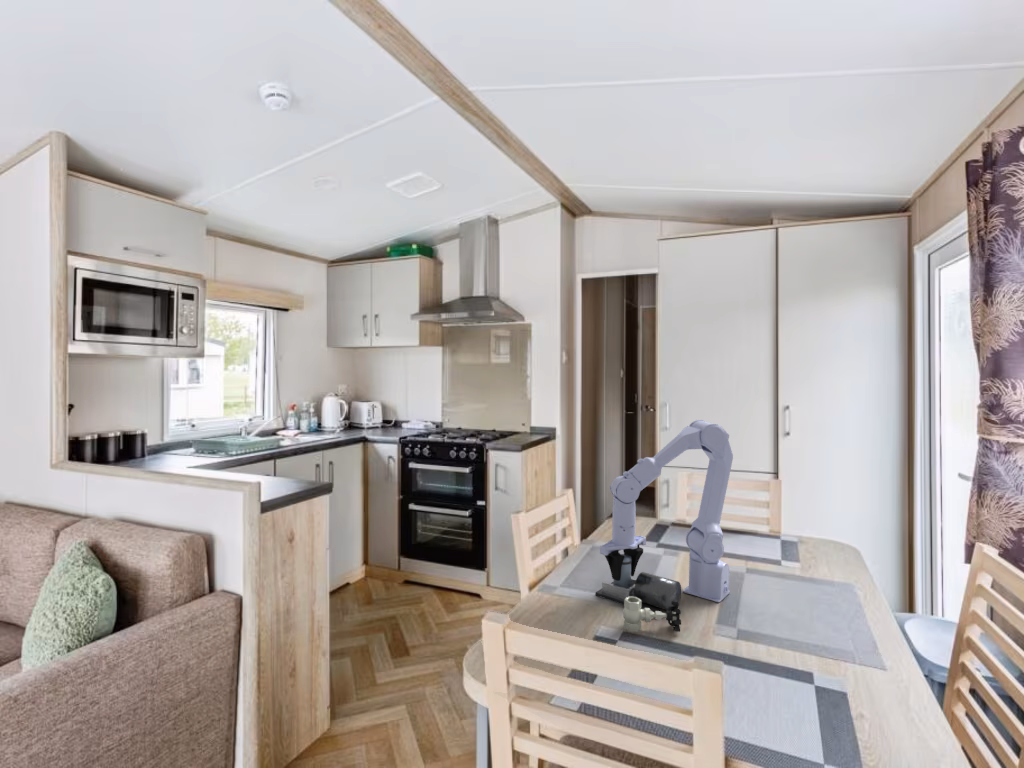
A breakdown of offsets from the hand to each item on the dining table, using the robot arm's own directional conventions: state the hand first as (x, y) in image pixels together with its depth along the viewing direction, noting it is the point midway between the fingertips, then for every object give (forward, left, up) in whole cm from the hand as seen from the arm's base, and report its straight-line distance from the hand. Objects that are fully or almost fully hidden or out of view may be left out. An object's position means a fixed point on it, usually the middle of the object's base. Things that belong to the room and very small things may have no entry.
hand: (623, 577), depth 140 cm
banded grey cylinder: (0, 0, -2) cm, 2 cm away
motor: (-4, 0, -4) cm, 6 cm away
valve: (-13, +12, -5) cm, 19 cm away
